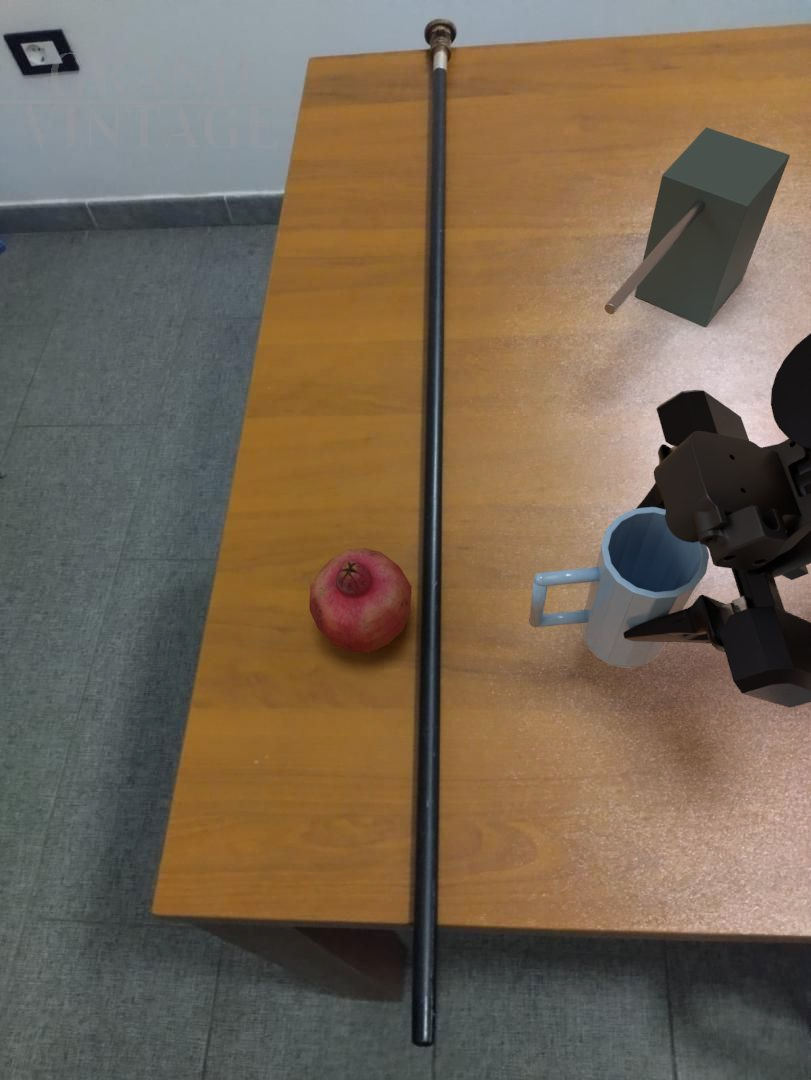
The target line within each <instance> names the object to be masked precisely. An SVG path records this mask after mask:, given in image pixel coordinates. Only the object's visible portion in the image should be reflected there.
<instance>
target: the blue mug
mask: <svg viewBox="0 0 811 1080" xmlns="http://www.w3.org/2000/svg"><path fill="white" fill-rule="evenodd" d="M665 513H666V510H665V509H661V508H656V507H648V508H638V509H636V508H632V509H631V510H628V511H627V512H624V513H622V514H620V515H619V516H617V517H615V519H614V520H613V521H612V522H611V523H610V524H609V526H608V527H607V528H606V529H605V531H604V534H603V538H602V542H601V545H600V549H599V553H598V557H597V559H596V560H597V561H596V564H595V566H590V567H580V568H570V569H569V568H568V569H560V570H549V571H538V572H537V573H535V574H534V575H533V581H532V592H531V599H530V602H531V603H530V610H529V617H528V624H529V625H530V626H531V627H532V628H545V627H555V626H567V625H578V624H581V626H580V628H581V629H580V630H581V634H582V638H583V641H584V643H585V645H586V647H587V648H588V649H589V650H590V651H591V652H592V654H593V655H594V656H595V657H596V658H598V659H599V660H601V661H602V662H604V663H606V664H608V665H610V666H613V667H617V668H623V669H632V668H638V667H643V666H645V665H647V664H649V663H651V662H652V661H653V660H655V659H657V657H658V656H659V655H660V654H661V652H662V651H663V649H664V648H665V646H666V645H667V643H668V642H639V641H630V640H627V639H625V638H624V635H623V633H624V632H625V631H627V630H629V629H631V628H633V627H635V626H636V625H639V624H641V623H644V622H647V621H650V620H653V619H656V618H659V617H662V616H665V615H668V614H671V613H674V612H677V611H680V610H683V609H686V608H688V606H689V604H690V602H691V600H692V598H693V597H694V595H695V593H696V592H697V589H698V588H699V586H700V584H701V582H702V581H703V579H704V577H705V575H706V573H707V570H708V564H709V558H710V552H709V549H708V547H707V546H706V545H703V544H700V542H695V543H691V542H685V541H682V540H680V539H678V538H677V537H676V536H674V535H673V534H672V532H671V531H670V530H669V528H668V526H667V523H666V520H665ZM584 583H585V584H586V583H590V587H589V590H588V594H587V597H586V602H585V606H584V609H579V610H568V611H557V612H547V613H544V612H545V606H546V599H547V592H548V587H553V586H554V587H555V586H565V585H574V584H575V585H576V584H584Z"/></svg>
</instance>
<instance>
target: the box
mask: <svg viewBox="0 0 811 1080" xmlns="http://www.w3.org/2000/svg"><path fill="white" fill-rule="evenodd" d="M790 156H791V155H790V154H788V153H785V152H783V151H780V150H776V149H773V148H770V147H767V146H764V145H762V144H758V143H755V142H753V141H749V140H747V139H743V138H740V137H737V136H734V135H731V134H728V133H725V132H721V131H719V130H717V129H716V130H715V129H712V128H710V127H705V128H704V129H703V130H702V131H701V132H700V134H699V135H697V137H696V138H695V139H694V140H693V141H692V142H691V143H690V144H689V145H688V146H687V148H686V149H685V150H684V151H683V152H682V153H681V154H680V155H679V156H678V157H677V159H675V160H674V162H673V163H672V164H671V165H670V166H669V167H668V168H667V169H666V170H665V172H664V173H663V174H662V175H661V181H660V184H659V188H658V193H657V197H656V200H655V205H654V210H653V214H652V218H651V223H650V228H649V232H648V237H647V241H646V246H645V248H644V249H645V250H644V254H643V258H642V262H641V263H640V264H639V265H638V266H637V268H636V269H635V270H634V271H633V273H632V274H631V275H629V277H628V278H627V279H626V281H624V283H622V285H621V286H620V287H619V289H618V290H617V291H615V292H614V294H613V296H611V298H610V299H609V300H608V301H607V302H606V304H604V311H605V312H606V313H607V314H609V315H614V314H615V313H616V312H617V311H618V310H619V309H620V308H621V306H622V305H623V304H624V303H625V302H626V300H627V299H628V298H629V297H630V296H631V295H632V294H633V292H634V291H635V294H634V297H635V298H638V299H640V300H642V301H644V302H646V303H649V304H651V305H653V306H656V307H658V308H660V309H663V310H665V311H667V312H670V313H672V314H674V315H676V316H678V317H681V318H683V319H685V320H688V321H690V322H693V323H695V324H696V325H699V326H702V327H703V328H706V327H707V326H708V324H709V323H710V322H711V321H712V319H713V318H714V317H715V316H716V314H717V313H718V312H719V311H720V309H721V308H723V305H724V304H725V303H726V302H727V301H728V299H729V298H730V297H731V295H732V294H733V293H734V291H736V289H737V287H739V285H740V284H741V283H742V282H743V280H744V277H745V275H746V272H747V270H748V268H749V267H748V266H749V264H750V261H751V259H752V256H753V253H754V251H755V248H756V246H757V243H758V240H759V238H760V235H761V232H762V230H763V227H764V225H765V222H766V220H767V217H768V214H769V212H770V209H771V207H772V204H773V201H774V199H775V196H776V194H777V191H778V188H779V185H780V183H781V180H782V178H783V175H784V173H785V170H786V167H787V164H788V162H789V160H790Z"/></svg>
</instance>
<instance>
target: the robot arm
mask: <svg viewBox="0 0 811 1080" xmlns="http://www.w3.org/2000/svg"><path fill="white" fill-rule="evenodd" d="M770 396H771V397H770V407H771V413H772V417H773V420H774V422H775V424H776V426H777V427H778V429H779V430H780V431H781V432H782V433H783V434H784V435H785V437H786V438H787V439H785V440H783V441H781V442H780V443H776V444H771V445H765V446H763V447H761V446H760V445H758V444H757V443H755V442H753V441H751V440H750V438H749V436H748V433H747V430H746V428H745V427H746V426H745V425H744V421H743V419H742V417H741V415H739V414H738V413H737V412H735V411H733V410H732V409H731V408H729V407H728V406H726V405H725V404H724V403H722V402H721V401H720V400H718V399H717V398H715V397H714V396H713V395H711V394H709V393H708V392H707V391H705V390H703V389H690V390H689V389H688V390H681V391H680V392H678V393H676V394H675V395H673V396H672V397H670V398H668V399H667V400H665V401H664V402H662V403H660V404H659V405H658V406H657V407H656V413H657V417H658V420H659V423H660V427H661V431H662V434H663V437H664V441H665V443H666V444H665V443H663V444H661V445H660V446H659V447H658V450H657V456H658V464H657V465H656V467H654V469H653V477H654V484H653V486H652V487H651V488H650V490H649V491H648V493H647V494H646V495H645V496H644V498H643V499H642V501H641V502H640V503H639V504H638V505H637V506H636V507H635V509H638V508H648V507H656V508H661V509H665V510H666V513H665V520H666V523H667V526H668V528H669V530H670V531H671V532H672V534H673V535H674V536H676V537H677V538H678V539H680V540H682V541H685V542H691V543H695V542H700V544H703V545H706V546H707V550H708V552H709V556H710V559H711V561H712V564H713V566H715V567H717V568H724V569H725V568H726V569H731V571H732V575H733V578H734V582H735V584H736V589H737V591H738V595H739V597H738V598H734V599H733V600H731V602H728V603H724V602H722V601H719V600H717V599H714V598H712V597H710V596H708V595H705V594H700V595H699V596H698V597H697V598H696V599H695V601H694V602H693V603H692V604H691V606H689V607H687V608H686V609H683V610H680V611H677V612H674V613H671V614H668V615H665V616H662V617H659V618H656V619H653V620H650V621H647V622H644V623H641V624H639V625H636V626H635V627H633V628H631V629H629V630H627V631H625V632H624V633H623V635H624V638H625V639H627V640H630V641H639V642H667V643H687V644H691V643H693V644H708V645H712V647H713V648H714V649H715V650H716V651H719V652H722V653H724V654H725V656H726V661H727V664H728V667H729V671H730V675H731V678H732V681H733V683H734V684H735V686H736V688H737V689H738V690H739V691H740V693H741V694H742V695H745V696H749V697H752V698H756V699H759V700H762V701H766V702H769V703H772V704H776V705H779V706H783V707H784V708H785V707H786V708H789V709H791V708H795V707H797V706H802V705H805V704H810V703H811V621H808V620H806V619H804V618H802V617H799V616H797V615H795V614H793V613H790V612H789V611H787V610H785V607H784V604H783V601H782V600H783V599H782V597H781V594H780V592H779V589H778V586H777V582H776V580H775V578H778V577H780V576H782V577H784V578H786V579H788V580H790V581H794V580H796V579H799V578H801V577H804V576H807V575H809V574H810V573H809V571H808V567H807V566H808V565H810V564H811V332H810V333H808V335H806V336H805V337H804V338H803V339H802V340H801V341H799V342H798V343H796V345H795V346H794V347H793V348H792V349H791V350H790V352H789V353H788V354H787V355H786V357H785V358H784V360H783V361H782V362H781V364H780V367H779V368H778V370H777V372H776V374H775V377H774V380H773V384H772V386H771V393H770ZM667 444H668V445H670V446H671V447H670V446H668V445H667Z"/></svg>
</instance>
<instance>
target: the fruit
mask: <svg viewBox="0 0 811 1080" xmlns="http://www.w3.org/2000/svg"><path fill="white" fill-rule="evenodd" d="M412 589H413V588H412V585H411V582H410V581H409V579H408V577H407V576H406V575H405V573H404V571H403V569H402V568H401V566H399V564H397V563H396V562H395V561H394V560H392V559H390V558H389V557H388V556H387V555H386V554H384V553H383V552H382V551H379V550H375V549H371V548H366V547H364V548H363V547H362V548H349V549H347V548H346V549H345V550H343V551H342V552H340V553H339V554H337V555H335V556H333V557H332V558H330V560H328V562H327V563H326V564H325V565H324V566H323V567H322V568H321V569H320V571H319V572H318V574H317V575H316V576H315V578H314V580H313V581H312V582H311V584H310V586H309V603H308V606H309V613H310V615H311V617H312V620H313V621H314V623H315V625H316V627H317V628H318V629H319V631H320V632H321V633H322V634H323V635H324V636H325V638H326V639H327V640H328V641H329V642H330V643H331V644H332V645H333V646H335V647H337V648H340V649H343V650H346V651H349V652H352V653H372V652H374V651H377V650H379V649H381V648H383V647H385V646H387V645H389V644H391V643H392V642H393V640H394V639H396V638H397V637H398V636H399V635H400V634H401V633H402V632H403V630H404V628H405V626H406V623H407V620H408V618H409V617H410V613H411V603H412Z"/></svg>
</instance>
